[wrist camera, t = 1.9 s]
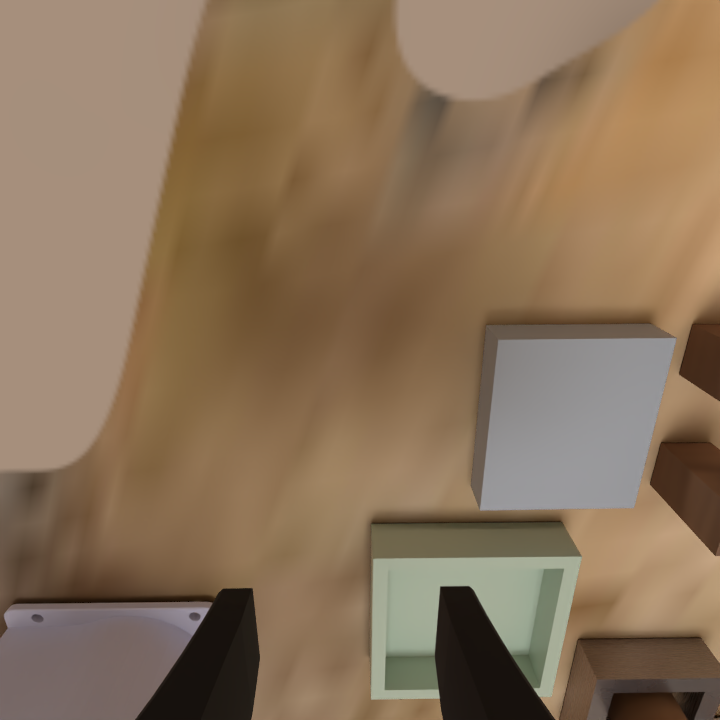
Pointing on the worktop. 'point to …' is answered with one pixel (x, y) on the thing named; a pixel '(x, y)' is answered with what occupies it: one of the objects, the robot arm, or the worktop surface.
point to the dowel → (645, 707)
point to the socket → (642, 675)
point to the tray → (489, 581)
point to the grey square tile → (567, 414)
